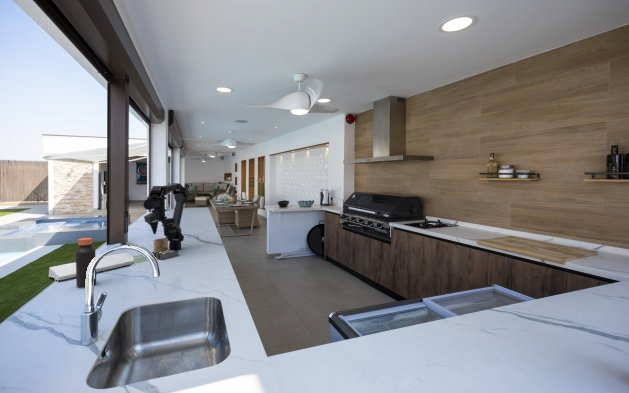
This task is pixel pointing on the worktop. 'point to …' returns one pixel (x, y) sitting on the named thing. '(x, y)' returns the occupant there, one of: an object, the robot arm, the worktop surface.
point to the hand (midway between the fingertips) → (160, 234)
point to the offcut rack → (166, 255)
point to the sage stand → (139, 259)
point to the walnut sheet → (160, 245)
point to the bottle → (84, 260)
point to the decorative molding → (105, 264)
